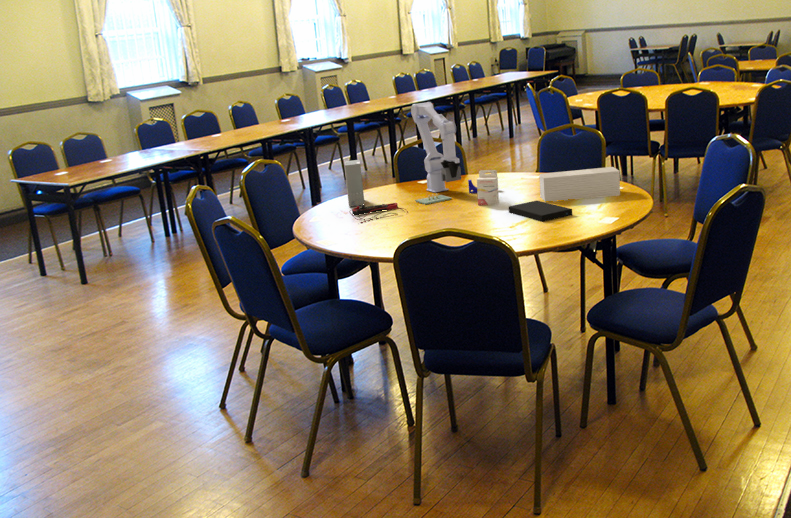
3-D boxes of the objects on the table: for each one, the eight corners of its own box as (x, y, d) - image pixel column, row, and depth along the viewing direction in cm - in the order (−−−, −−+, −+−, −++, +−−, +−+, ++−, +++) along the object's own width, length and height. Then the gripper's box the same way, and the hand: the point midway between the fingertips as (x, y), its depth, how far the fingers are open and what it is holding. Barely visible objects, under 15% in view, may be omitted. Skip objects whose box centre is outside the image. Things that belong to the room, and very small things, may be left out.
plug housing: (441, 181, 342) (440, 168, 341) (456, 178, 345) (455, 165, 344) (446, 182, 338) (445, 169, 337) (461, 179, 341) (460, 166, 340)
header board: (415, 201, 336) (414, 195, 336) (441, 196, 342) (440, 190, 341) (425, 204, 328) (424, 198, 327) (451, 199, 333) (451, 193, 332)
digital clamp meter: (343, 206, 325) (395, 197, 331) (344, 215, 326) (396, 206, 332) (355, 215, 303) (411, 205, 309) (356, 225, 304) (412, 216, 311)
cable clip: (469, 194, 342) (468, 181, 340) (469, 192, 346) (468, 179, 345) (494, 191, 341) (493, 179, 339) (494, 190, 345) (493, 177, 343)
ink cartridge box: (477, 205, 315) (475, 172, 311) (480, 203, 320) (478, 170, 316) (497, 205, 312) (495, 171, 308) (499, 202, 317) (497, 169, 313)
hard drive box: (365, 205, 339) (360, 163, 334) (349, 207, 339) (343, 165, 333) (364, 199, 354) (359, 159, 349) (348, 201, 354) (343, 160, 348)
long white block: (544, 202, 309) (543, 178, 306) (540, 197, 319) (539, 173, 316) (620, 195, 307) (619, 170, 304) (613, 191, 317) (612, 166, 314)
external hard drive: (537, 207, 303) (537, 200, 302) (572, 216, 282) (572, 208, 281) (509, 213, 297) (508, 206, 296) (542, 223, 277) (542, 215, 276)
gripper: (434, 148, 342) (436, 176, 346) (449, 150, 330) (451, 179, 333) (447, 145, 345) (449, 173, 349) (462, 148, 332) (464, 177, 336)
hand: (451, 176), depth 341 cm, fingers closed on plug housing, 5 cm apart
